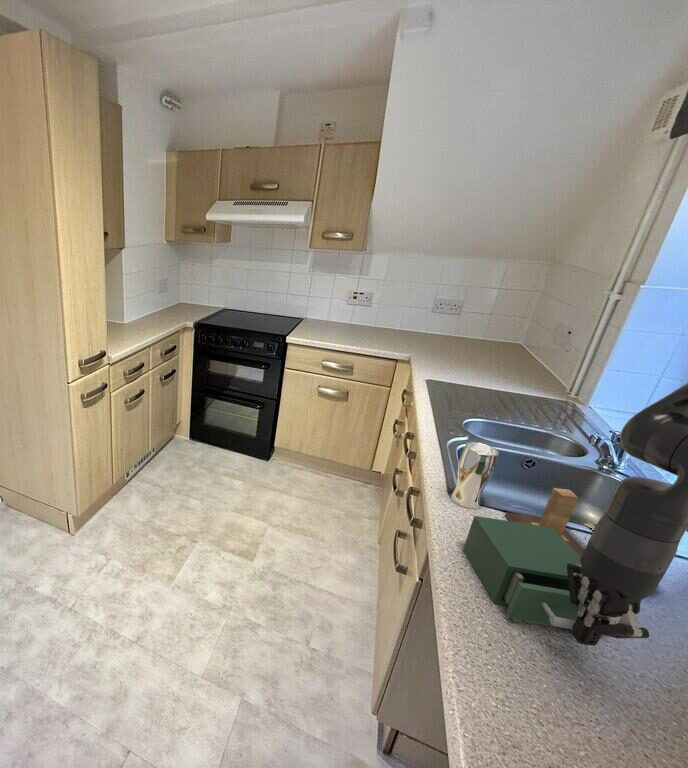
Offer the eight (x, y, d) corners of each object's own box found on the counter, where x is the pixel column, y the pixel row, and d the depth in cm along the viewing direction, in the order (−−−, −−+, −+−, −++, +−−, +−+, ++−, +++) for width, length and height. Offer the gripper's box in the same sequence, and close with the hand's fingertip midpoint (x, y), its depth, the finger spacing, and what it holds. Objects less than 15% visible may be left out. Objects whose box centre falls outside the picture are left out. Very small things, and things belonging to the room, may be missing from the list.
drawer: (614, 658, 64) (632, 625, 62) (522, 639, 67) (536, 607, 64) (550, 576, 79) (563, 547, 77) (477, 563, 82) (487, 535, 80)
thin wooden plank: (553, 523, 96) (555, 519, 95) (595, 568, 83) (598, 563, 82) (504, 516, 98) (506, 511, 97) (538, 558, 85) (540, 554, 85)
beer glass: (445, 500, 103) (461, 448, 98) (452, 489, 107) (468, 438, 102) (478, 514, 98) (496, 459, 93) (484, 501, 103) (502, 449, 98)
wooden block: (529, 526, 93) (545, 484, 89) (552, 529, 92) (570, 487, 88) (542, 541, 88) (560, 498, 84) (567, 545, 87) (587, 501, 83)
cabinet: (583, 620, 72) (603, 581, 68) (493, 603, 74) (508, 565, 71) (538, 562, 84) (553, 527, 81) (462, 549, 87) (474, 515, 84)
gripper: (707, 594, 50) (646, 690, 56) (623, 524, 62) (581, 609, 68) (633, 582, 52) (582, 677, 58) (565, 516, 64) (529, 600, 70)
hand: (581, 640), depth 63 cm, fingers closed
